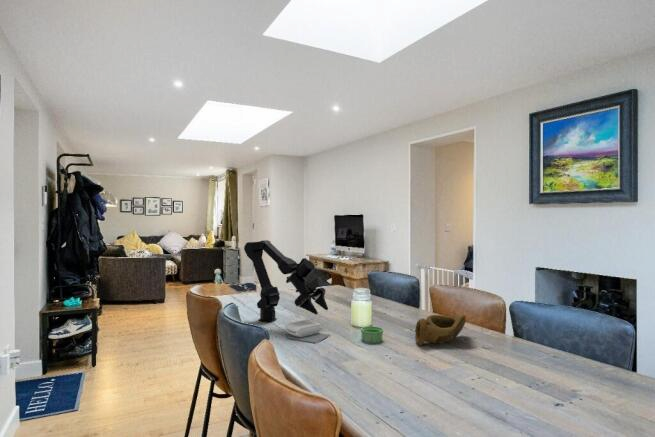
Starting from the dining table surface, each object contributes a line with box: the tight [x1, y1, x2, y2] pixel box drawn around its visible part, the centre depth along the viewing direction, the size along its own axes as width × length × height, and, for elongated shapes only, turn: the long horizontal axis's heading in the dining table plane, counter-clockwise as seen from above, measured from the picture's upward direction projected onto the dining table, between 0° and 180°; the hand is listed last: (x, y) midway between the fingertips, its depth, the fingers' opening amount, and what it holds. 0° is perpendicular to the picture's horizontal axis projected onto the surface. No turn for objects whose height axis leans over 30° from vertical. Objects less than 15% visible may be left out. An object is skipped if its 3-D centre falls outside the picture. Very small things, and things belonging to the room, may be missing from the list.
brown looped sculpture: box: [414, 314, 467, 346], centre depth 156 cm, size 18×13×22 cm
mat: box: [285, 332, 331, 344], centre depth 161 cm, size 14×12×1 cm
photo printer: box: [284, 319, 322, 337], centre depth 165 cm, size 10×4×12 cm
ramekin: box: [360, 325, 384, 344], centre depth 158 cm, size 9×9×4 cm
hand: (322, 311), depth 171 cm, fingers open, 9 cm apart
